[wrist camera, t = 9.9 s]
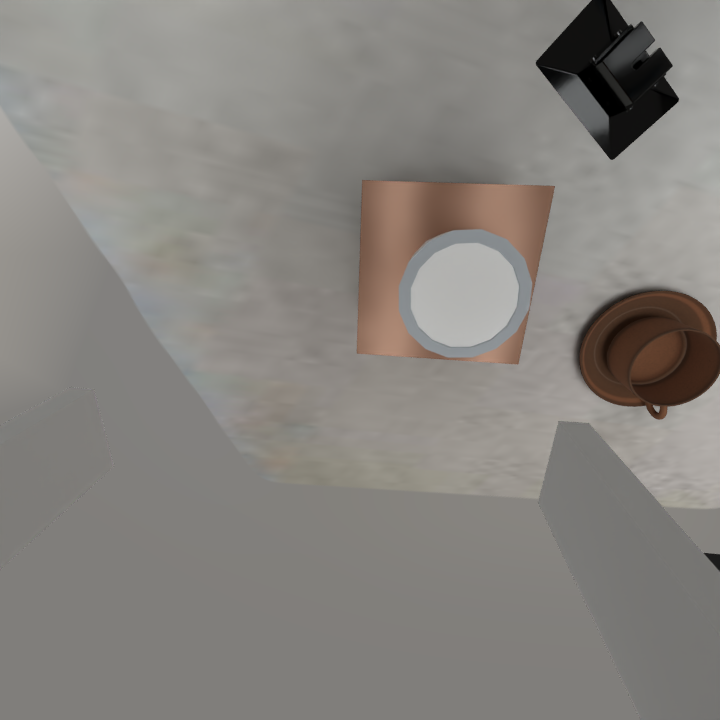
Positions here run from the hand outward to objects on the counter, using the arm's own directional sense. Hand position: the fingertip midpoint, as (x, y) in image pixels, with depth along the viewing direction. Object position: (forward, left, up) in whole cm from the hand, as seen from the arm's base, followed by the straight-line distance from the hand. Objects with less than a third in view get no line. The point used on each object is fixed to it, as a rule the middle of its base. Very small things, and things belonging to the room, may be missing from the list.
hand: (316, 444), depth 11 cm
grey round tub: (-6, -2, -18) cm, 19 cm away
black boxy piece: (-18, -16, -31) cm, 39 cm away
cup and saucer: (-27, +6, -30) cm, 41 cm away
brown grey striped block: (-5, -2, -30) cm, 30 cm away
